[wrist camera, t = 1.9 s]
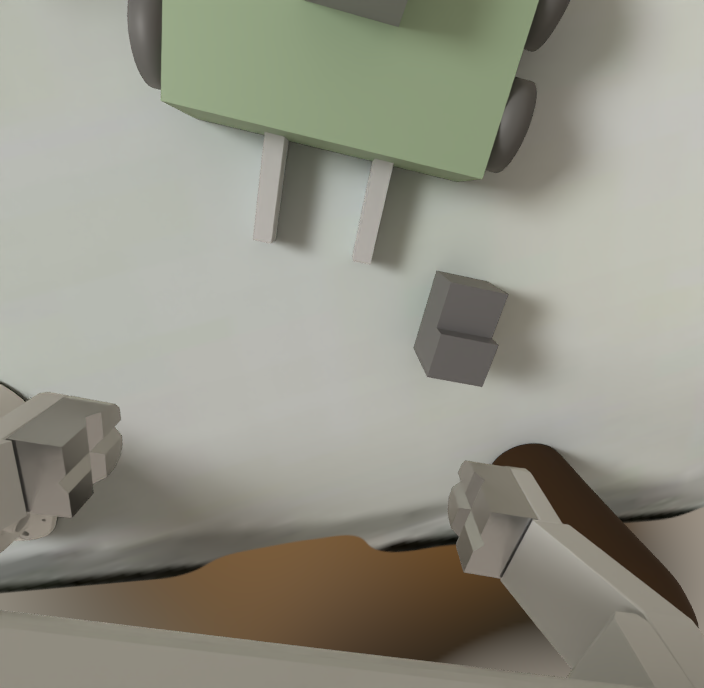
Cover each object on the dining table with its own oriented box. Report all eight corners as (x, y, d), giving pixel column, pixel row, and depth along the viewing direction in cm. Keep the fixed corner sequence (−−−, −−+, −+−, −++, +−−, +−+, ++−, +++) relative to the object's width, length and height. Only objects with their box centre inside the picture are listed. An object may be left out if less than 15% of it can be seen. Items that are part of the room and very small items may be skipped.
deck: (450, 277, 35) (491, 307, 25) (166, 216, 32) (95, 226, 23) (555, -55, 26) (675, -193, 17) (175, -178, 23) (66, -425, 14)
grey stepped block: (459, 356, 38) (482, 386, 32) (413, 347, 37) (427, 376, 31) (486, 281, 35) (516, 299, 29) (436, 270, 35) (456, 286, 28)
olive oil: (519, 423, 41) (747, 718, 18) (587, 460, 43) (869, 764, 20) (462, 488, 45) (594, 807, 21) (529, 519, 47) (713, 837, 24)
